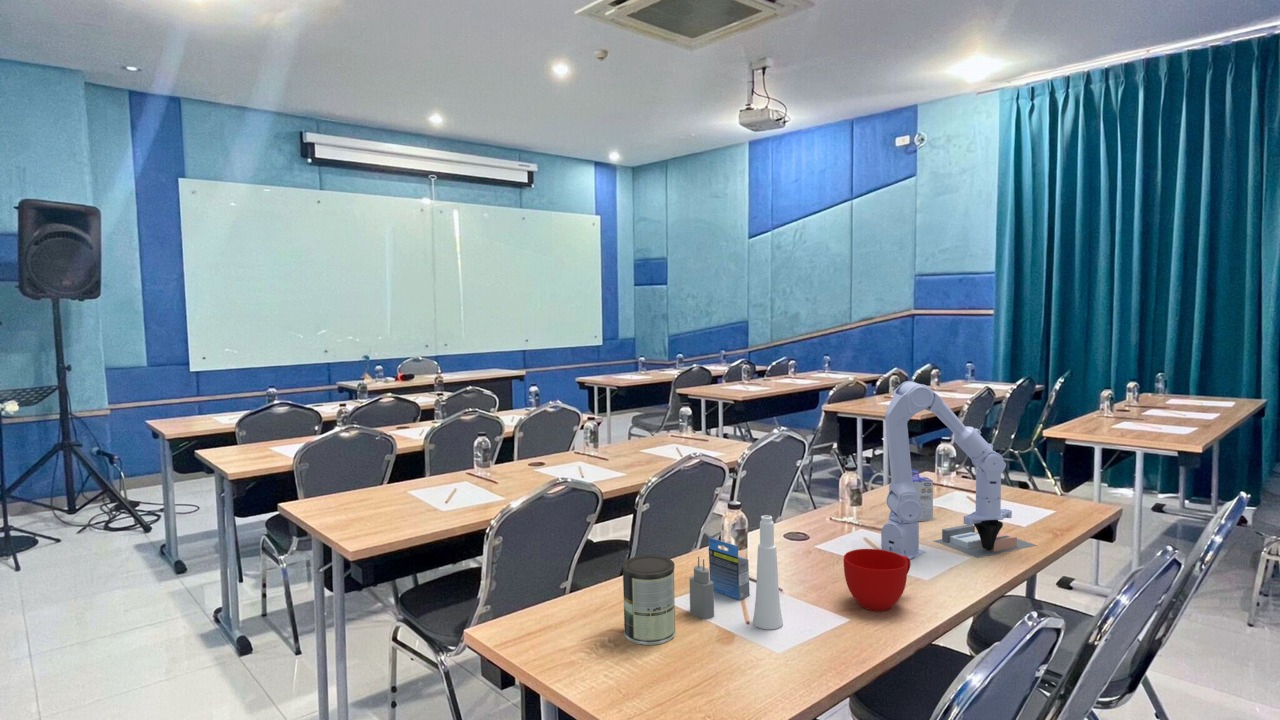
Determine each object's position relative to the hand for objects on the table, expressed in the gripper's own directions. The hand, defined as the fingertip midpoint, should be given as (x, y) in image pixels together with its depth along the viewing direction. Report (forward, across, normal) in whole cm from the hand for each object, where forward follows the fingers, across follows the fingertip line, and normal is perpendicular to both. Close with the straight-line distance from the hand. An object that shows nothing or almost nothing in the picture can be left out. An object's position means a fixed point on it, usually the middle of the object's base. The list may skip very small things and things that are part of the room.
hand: (987, 548), depth 180 cm
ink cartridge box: (+1, +4, +30) cm, 30 cm away
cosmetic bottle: (+1, -73, -10) cm, 73 cm away
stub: (+1, +5, +1) cm, 5 cm away
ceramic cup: (+1, -45, -12) cm, 47 cm away
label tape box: (+1, -72, +6) cm, 72 cm away
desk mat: (+1, +4, +5) cm, 7 cm away
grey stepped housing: (+1, +1, +7) cm, 7 cm away
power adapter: (+1, -83, -1) cm, 83 cm away
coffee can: (+1, -96, -4) cm, 96 cm away
